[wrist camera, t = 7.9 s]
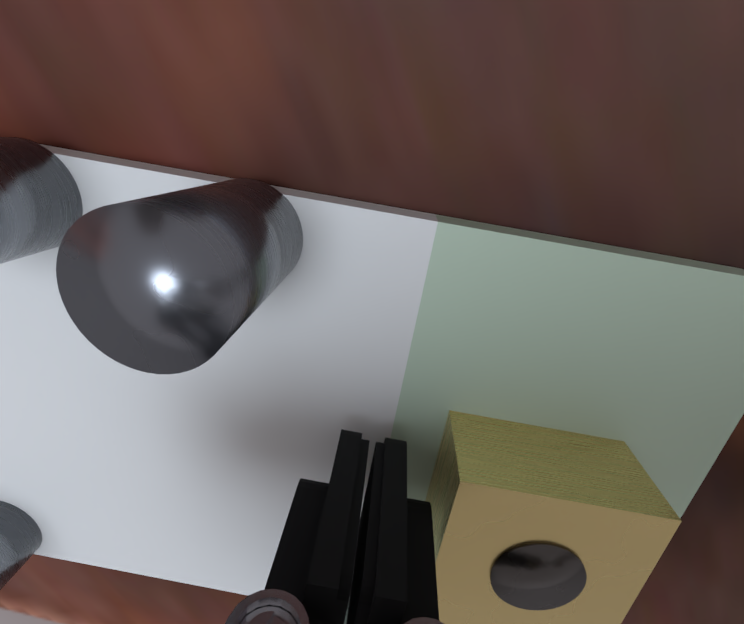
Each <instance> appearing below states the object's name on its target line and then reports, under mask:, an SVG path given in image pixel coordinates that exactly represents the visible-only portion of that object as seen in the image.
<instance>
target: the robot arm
mask: <svg viewBox="0 0 744 624" xmlns="http://www.w3.org/2000/svg"><path fill="white" fill-rule="evenodd" d="M369 442H370V440H364V439H362V433H359V432H354V431H348V430H343V429H341V433H340V438H339V442H338V446H337V451H336V455H335V460H334V464H333V468H332V473H331V477H330V482H329V483H324V482H318V481H313V480H308V479H302V478H300V480H299V483H298V485H297V488H296V492H295V495H294V498H293V501H292V504H291V507H290V510H289V514H288V517H287V520H286V523H285V526H284V529H283V532H282V536H281V539H280V542H279V545H278V548H277V551H276V554H275V558H274V561H273V564H272V567H271V570H270V573H269V576H268V580H267V583H266V586H265V589H264V590H260V591H258V592H255V593H253V594H251V595H249V596H247V597H246V598H245V599H244V600H242V601H241V602H240V603H239V604H238V605H237V606H236V607H235V609H234V610H233V611H232V613H231V614H230V616H229V617H228V619H227V621H226V623H225V624H344V621H345V616H346V611H347V607H348V602H349V607H348V615H347V623H346V624H444V623H442V622H440V621H439V609H438V594H437V580H436V565H435V550H434V536H433V521H432V509H431V504H430V502H427V501H421V500H416V499H411V498H407V442H406V441H403V440H397V439H392V438H386V437H385V440H384V443H381V442H376V444H375V449H374V454H373V459H372V463H371V468H370V473H369V478H368V483H367V488H366V492H365V497H364V502H363V507H362V499H363V491H364V482H365V474H366V466H367V458H368V450H369ZM361 507H362V512H361ZM360 515H361V517H360ZM349 597H350V599H349Z"/></svg>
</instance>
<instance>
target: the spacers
mask: <svg viewBox="0 0 744 624" xmlns="http://www.w3.org/2000/svg"><path fill="white" fill-rule="evenodd" d="M82 214H83V208H82V199H81V195H80V192H79V189H78V186H77V184H76V182H75V180H74V178H73V176H72V174H71V173H70V171H69V170H68V169H67V167H66V166H65V165H64V164H63V162H62V161H61V160H60V159H59V158H58V157H57V156H56V155H54V154H53V153H52V152H51V151H49V150H48V149H46V148H45V147H43V146H42V145H40V144H38V143H36V142H33V141H31V140H27V139H23V138H16V137H0V264H2V263H5V262H9V261H12V260H15V259H19V258H22V257H26V256H29V255H32V254H36V253H39V252H42V251H46V250H49V249H53V248H56V247H59V246H60V247H59V250H58V255H57V261H56V278H57V284H58V289H59V293H60V296H61V299H62V302H63V304H64V306H65V308H66V311H67V313H68V314H69V316H70V318H71V319H72V321H73V323H74V324H75V325H76V327H77V328H78V329H79V331H80V332H81V333H82V334H83V335H84V336H85V338H86V339H87V340H88V341H89V342H90V343H91V344H93V345H94V346H95V347H96V348H97V349H98V350H100V351H101V352H102V353H104V354H105V355H106V356H108V357H110V358H111V359H113V360H115V361H116V362H118V363H120V364H123V365H125V366H127V367H130V368H132V369H135V370H138V371H142V372H146V373H153V374H177V373H182V372H186V371H189V370H192V369H194V368H197V367H199V366H201V365H202V364H204V363H206V362H207V361H208V360H209V359H211V358H212V357H213V356H214V355H215V354H216V353H217V352H218V351H219V349H220V348H221V347H222V346H223V345H224V344H225V343H226V342H227V341H228V340H229V339H230V338H231V336H232V335H233V334H234V333H235V332H236V331H237V330H238V329H239V328H240V327H241V326H242V324H243V323H244V322H245V321H246V320H247V319H248V318H249V317H250V316H251V315H252V314H253V313H254V311H255V310H256V309H257V308H258V307H259V306H260V305H261V304H262V303H263V302H264V301H265V299H266V298H267V297H268V296H269V295H270V294H271V293H272V292H273V291H274V290H275V289H276V288H277V286H278V285H279V284H280V283H281V282H282V281H283V280H284V279H285V278H286V277H287V276H288V274H289V273H290V272H291V271H292V270H293V269H294V267H295V266H296V264H297V262H298V260H299V258H300V255H301V252H302V247H303V231H302V226H301V222H300V220H299V217H298V215H297V213H296V211H295V209H294V207H293V206H292V204H291V203H290V202H289V200H288V199H287V198H286V197H285V196H284V195H283V194H282V193H281V192H279V191H278V190H277V189H275V188H274V187H272V186H270V185H269V184H267V183H264V182H262V181H259V180H255V179H248V178H237V179H232V180H227V181H222V182H217V183H212V184H207V185H203V186H198V187H193V188H188V189H183V190H178V191H174V192H169V193H164V194H159V195H154V196H150V197H145V198H140V199H135V200H130V201H125V202H121V203H116V204H111V205H106V206H102V207H99V208H96V209H94V210H92V211H90V212H88V213H86V214H84V215H83V216H82ZM41 543H42V533H41V530H40V528H39V526H38V525H37V523H36V522H35V521H34V520H33V519H32V517H31V516H29V515H28V514H27V513H26V512H24V511H23V510H21V509H20V508H18V507H16V506H14V505H12V504H10V503H7V502H4V501H0V590H1V589H2V588H3V587H4V585H5V584H6V583H7V582H8V581H9V580H10V579H11V578H12V577H13V576H14V575H15V573H16V572H17V571H18V570H19V569H20V568H21V567H22V566H23V565H24V564H25V563H26V561H27V560H28V559H29V558H30V557H31V556H32V555H33V554H34V553H35V552H36V550H37V549H38V548H39V547H40V545H41ZM349 599H350V597H349ZM348 607H349V602H348ZM348 607H347V611H346V616H345V621H344V624H346V623H347V615H348Z"/></svg>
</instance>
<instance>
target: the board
mask: <svg viewBox="0 0 744 624" xmlns="http://www.w3.org/2000/svg"><path fill="white" fill-rule="evenodd" d="M40 145H42V144H40ZM42 146H43V147H45V148H46V149H48V150H49V151H51V152H52V153H53V154H54V155H56V156H57V157H58V158H59V159H60V160H61V161H62V162H63V164H64V165H65V166H66V167H67V169H68V170H69V171H70V173H71V174H72V176H73V178H74V180H75V182H76V184H77V186H78V189H79V192H80V195H81V199H82V208H83V214H82V216H83V215H84V214H86V213H88V212H90V211H92V210H94V209H96V208H99V207H102V206H106V205H111V204H116V203H121V202H125V201H130V200H135V199H140V198H145V197H150V196H154V195H159V194H164V193H169V192H174V191H178V190H183V189H188V188H193V187H198V186H203V185H207V184H212V183H217V182H222V181H227V180H232V179H234V178H228V177H222V176H217V175H211V174H205V173H200V172H194V171H189V170H183V169H177V168H172V167H166V166H160V165H155V164H149V163H143V162H138V161H132V160H127V159H121V158H115V157H110V156H104V155H98V154H93V153H87V152H81V151H76V150H70V149H65V148H59V147H53V146H48V145H42ZM270 186H272V187H274V188H275V189H277V190H278V191H279V192H281V193H282V194H283V195H284V196H285V197H286V198H287V199H288V200H289V202H290V203H291V204H292V206H293V207H294V209H295V211H296V213H297V215H298V217H299V220H300V222H301V226H302V231H303V247H302V252H301V255H300V258H299V260H298V262H297V264H296V266H295V267H294V269H293V270H292V271H291V272H290V273H289V274H288V276H287V277H286V278H285V279H284V280H283V281H282V282H281V283H280V284H279V285H278V286H277V288H276V289H275V290H274V291H273V292H272V293H271V294H270V295H269V296H268V297H267V298H266V299H265V301H264V302H263V303H262V304H261V305H260V306H259V307H258V308H257V309H256V310H255V311H254V313H253V314H252V315H251V316H250V317H249V318H248V319H247V320H246V321H245V322H244V323H243V324H242V326H241V327H240V328H239V329H238V330H237V331H236V332H235V333H234V334H233V335H232V336H231V338H230V339H229V340H228V341H227V342H226V343H225V344H224V345H223V346H222V347H221V348H220V349H219V351H218V352H217V353H216V354H215V355H214V356H213V357H212V358H211V359H209V360H208V361H207V362H206V363H204V364H202V365H201V366H199V367H197V368H194V369H192V370H189V371H186V372H182V373H177V374H153V373H146V372H142V371H138V370H135V369H132V368H130V367H127V366H125V365H123V364H120V363H118V362H116V361H115V360H113V359H111V358H110V357H108V356H106V355H105V354H104V353H102V352H101V351H100V350H98V349H97V348H96V347H95V346H94V345H93V344H91V343H90V342H89V341H88V340H87V339H86V338H85V336H84V335H83V334H82V333H81V332H80V331H79V329H78V328H77V327H76V325H75V324H74V323H73V321H72V319H71V318H70V316H69V314H68V313H67V311H66V308H65V306H64V304H63V302H62V299H61V296H60V293H59V289H58V284H57V278H56V261H57V255H58V250H59V247H60V246H59V247H56V248H53V249H49V250H46V251H42V252H39V253H36V254H32V255H29V256H26V257H22V258H19V259H15V260H12V261H9V262H5V263H2V264H0V501H4V502H7V503H10V504H12V505H14V506H16V507H18V508H20V509H21V510H23V511H24V512H26V513H27V514H28V515H29V516H31V517H32V519H33V520H34V521H35V522H36V523H37V525H38V526H39V528H40V530H41V533H42V543H41V545H40V547H39V548H38V549H37V550H36V552H35V553H34V554H37V555H42V556H47V557H52V558H58V559H63V560H68V561H73V562H78V563H83V564H89V565H94V566H99V567H104V568H109V569H114V570H120V571H125V572H130V573H135V574H140V575H145V576H150V577H156V578H161V579H166V580H171V581H176V582H181V583H187V584H192V585H197V586H202V587H207V588H212V589H218V590H223V591H228V592H233V593H238V594H243V595H251V594H253V593H255V592H258V591H260V590H264V589H265V586H266V583H267V580H268V576H269V573H270V570H271V567H272V564H273V561H274V558H275V554H276V551H277V548H278V545H279V542H280V539H281V536H282V532H283V529H284V526H285V523H286V520H287V517H288V514H289V510H290V507H291V504H292V501H293V498H294V495H295V492H296V488H297V485H298V483H299V480H300V478H302V479H308V480H313V481H318V482H324V483H329V482H330V477H331V473H332V468H333V464H334V460H335V455H336V451H337V446H338V442H339V438H340V433H341V429H343V430H348V431H354V432H359V433H362V439H364V440H370V442H369V450H368V458H367V466H366V474H365V482H364V491H363V499H362V507H363V502H364V497H365V492H366V488H367V483H368V478H369V473H370V468H371V463H372V459H373V454H374V449H375V444H376V442H381V443H384V440H385V437H386V438H392V439H397V440H403V441H406V442H407V498H411V499H416V500H421V501H425V500H426V496H427V492H428V488H429V485H430V481H431V477H432V473H433V470H434V466H435V462H436V459H437V455H438V451H439V447H440V444H441V440H442V436H443V432H444V429H445V425H446V421H447V418H448V414H449V410H451V411H456V412H462V413H468V414H473V415H479V416H484V417H490V418H496V419H501V420H507V421H513V422H518V423H524V424H529V425H535V426H541V427H546V428H552V429H558V430H563V431H569V432H575V433H580V434H586V435H591V436H597V437H603V438H608V439H614V440H620V441H624V442H625V443H626V444H627V446H628V447H629V449H630V450H631V451H632V453H633V454H634V456H635V457H636V458H637V460H638V461H639V462H640V464H641V465H642V467H643V468H644V469H645V471H646V472H647V474H648V475H649V476H650V478H651V479H652V480H653V482H654V483H655V485H656V486H657V487H658V489H659V490H660V492H661V493H662V494H663V496H664V497H665V499H666V500H667V501H668V503H669V504H670V505H671V507H672V508H673V510H674V511H675V512H676V514H677V515H678V517H679V518H681V517H682V515H683V513H684V512H685V510H686V508H687V507H688V505H689V503H690V502H691V500H692V498H693V497H694V495H695V493H696V492H697V490H698V488H699V487H700V485H701V483H702V482H703V480H704V478H705V477H706V475H707V473H708V472H709V470H710V469H711V467H712V465H713V464H714V462H715V460H716V459H717V457H718V455H719V454H720V452H721V450H722V449H723V447H724V445H725V444H726V442H727V440H728V439H729V437H730V435H731V434H732V432H733V430H734V429H735V427H736V425H737V424H738V422H739V420H740V419H741V417H742V416H743V414H744V269H741V268H736V267H730V266H724V265H719V264H713V263H707V262H702V261H696V260H690V259H685V258H679V257H674V256H668V255H662V254H657V253H651V252H645V251H640V250H634V249H628V248H623V247H617V246H612V245H606V244H600V243H595V242H589V241H583V240H578V239H572V238H566V237H561V236H555V235H549V234H544V233H538V232H533V231H527V230H521V229H516V228H510V227H504V226H499V225H493V224H487V223H482V222H476V221H471V220H465V219H459V218H454V217H448V216H442V215H437V214H431V213H425V212H420V211H414V210H409V209H403V208H397V207H392V206H386V205H380V204H375V203H369V202H363V201H358V200H352V199H346V198H341V197H335V196H330V195H324V194H318V193H313V192H307V191H301V190H296V189H290V188H284V187H279V186H273V185H270ZM362 507H361V512H362ZM360 517H361V515H360Z"/></svg>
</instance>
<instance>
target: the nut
mask: <svg viewBox="0 0 744 624" xmlns="http://www.w3.org/2000/svg"><path fill="white" fill-rule="evenodd" d="M425 501H427V502H430V504H431V509H432V521H433V536H434V550H435V565H436V580H437V594H438V609H439V621H440V622H442V623H444V624H621V623H622V621H623V619H624V618H625V616H626V614H627V613H628V611H629V609H630V607H631V606H632V604H633V602H634V601H635V599H636V597H637V596H638V594H639V592H640V591H641V589H642V587H643V586H644V584H645V582H646V581H647V579H648V577H649V575H650V574H651V572H652V570H653V569H654V567H655V565H656V564H657V562H658V560H659V559H660V557H661V555H662V554H663V552H664V550H665V549H666V547H667V545H668V543H669V542H670V540H671V538H672V537H673V535H674V533H675V532H676V530H677V528H678V527H679V525H680V523H681V522H682V521H681V519H680V518H679V517H678V515H677V514H676V512H675V511H674V510H673V508H672V507H671V505H670V504H669V503H668V501H667V500H666V499H665V497H664V496H663V494H662V493H661V492H660V490H659V489H658V487H657V486H656V485H655V483H654V482H653V480H652V479H651V478H650V476H649V475H648V474H647V472H646V471H645V469H644V468H643V467H642V465H641V464H640V462H639V461H638V460H637V458H636V457H635V456H634V454H633V453H632V451H631V450H630V449H629V447H628V446H627V444H626V443H625V442H624V441H620V440H614V439H608V438H603V437H597V436H591V435H586V434H580V433H575V432H569V431H563V430H558V429H552V428H546V427H541V426H535V425H529V424H524V423H518V422H513V421H507V420H501V419H496V418H490V417H484V416H479V415H473V414H468V413H462V412H456V411H451V410H449V414H448V418H447V421H446V425H445V429H444V432H443V436H442V440H441V444H440V447H439V451H438V455H437V459H436V462H435V466H434V470H433V473H432V477H431V481H430V485H429V488H428V492H427V496H426V500H425Z"/></svg>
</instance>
